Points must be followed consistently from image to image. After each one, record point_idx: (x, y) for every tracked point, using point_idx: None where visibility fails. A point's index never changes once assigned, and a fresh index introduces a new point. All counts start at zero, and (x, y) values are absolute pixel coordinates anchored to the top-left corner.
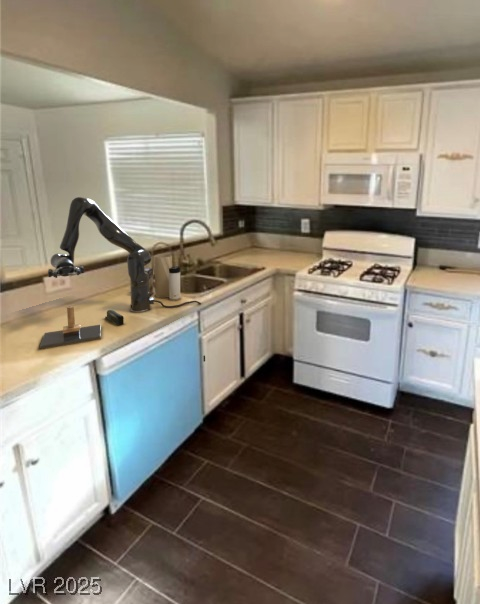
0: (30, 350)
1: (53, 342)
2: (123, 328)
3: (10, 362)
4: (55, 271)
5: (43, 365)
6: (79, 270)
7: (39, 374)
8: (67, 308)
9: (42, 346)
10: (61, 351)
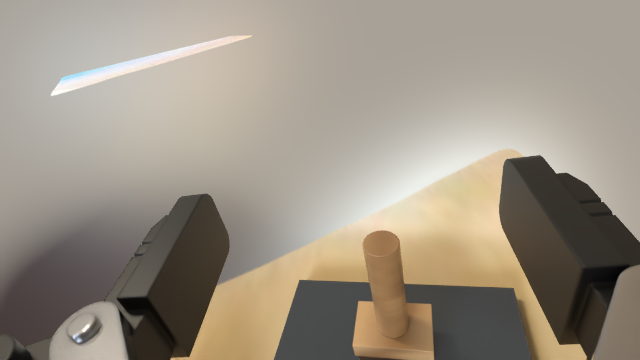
0: None
1: (465, 297)
2: (198, 346)
3: None
4: (624, 278)
5: (464, 199)
6: (137, 263)
7: (462, 171)
8: (397, 239)
9: (503, 289)
10: (427, 253)
